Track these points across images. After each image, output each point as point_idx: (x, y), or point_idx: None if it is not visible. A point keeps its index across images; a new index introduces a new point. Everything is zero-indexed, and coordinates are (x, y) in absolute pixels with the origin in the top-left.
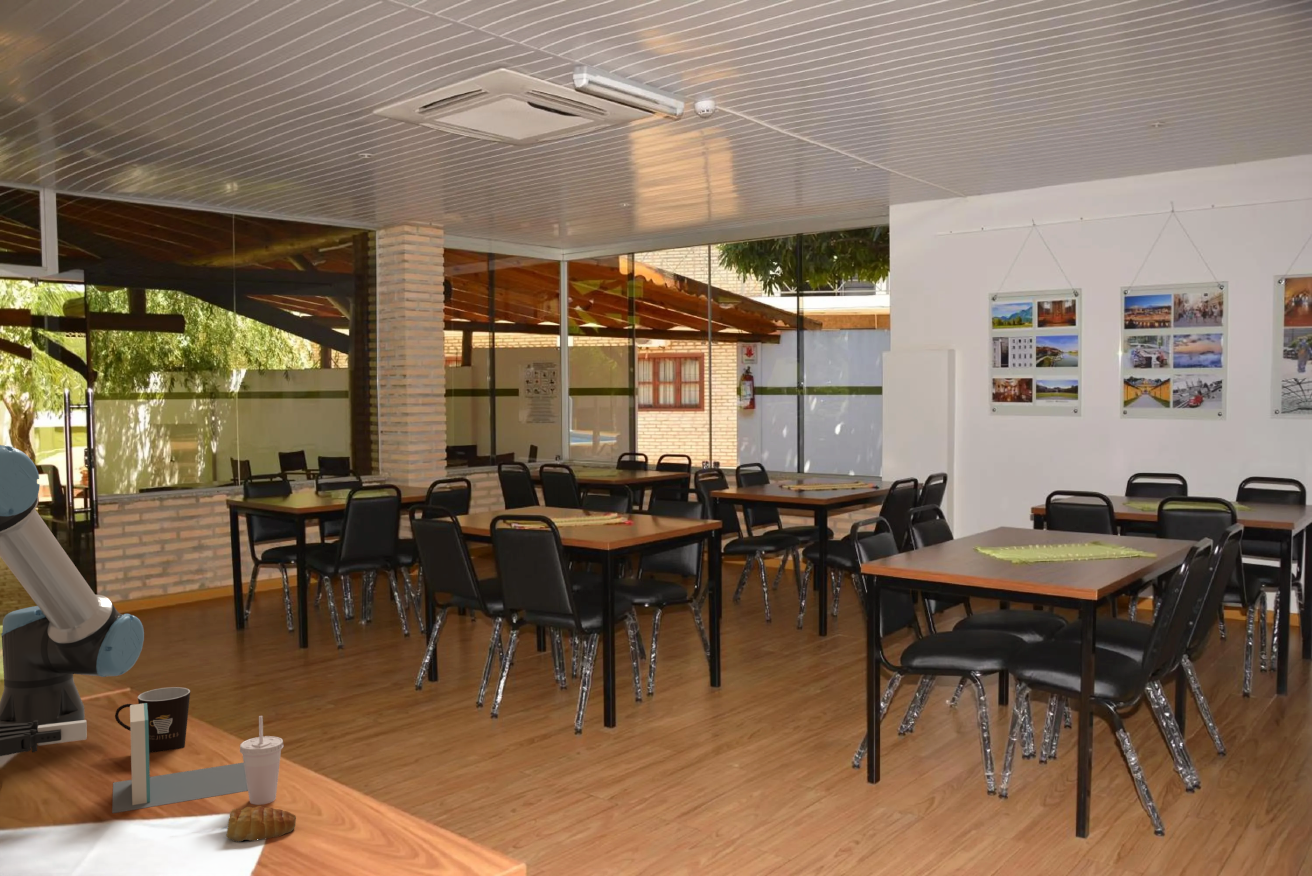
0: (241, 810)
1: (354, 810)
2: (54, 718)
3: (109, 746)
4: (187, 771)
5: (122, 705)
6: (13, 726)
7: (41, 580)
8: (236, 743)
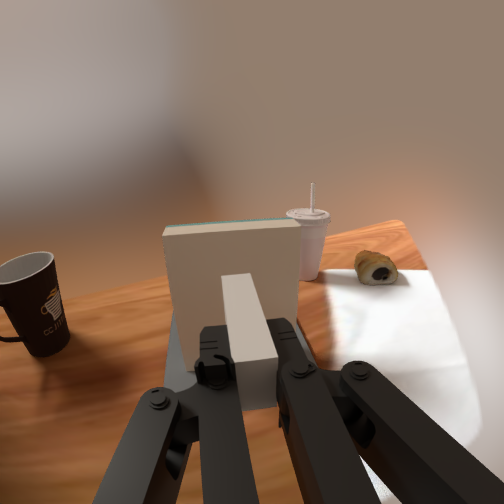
0: (375, 261)
1: (330, 243)
2: None
3: None
4: (173, 321)
5: None
6: (160, 462)
7: None
8: (94, 294)
